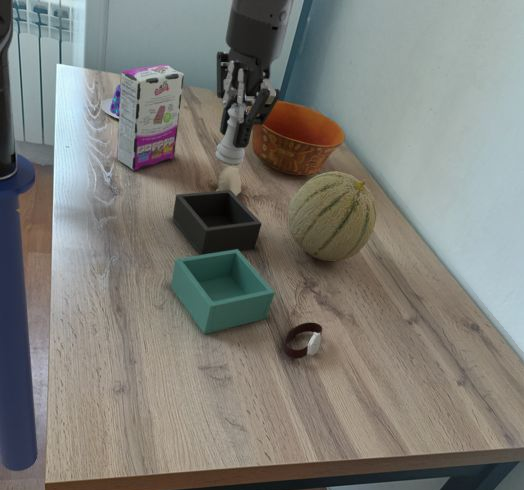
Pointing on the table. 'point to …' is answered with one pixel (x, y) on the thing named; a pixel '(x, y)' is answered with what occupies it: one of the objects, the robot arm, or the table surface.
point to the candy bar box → (148, 115)
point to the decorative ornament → (230, 179)
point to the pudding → (112, 104)
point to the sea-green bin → (221, 290)
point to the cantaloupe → (332, 216)
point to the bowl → (296, 139)
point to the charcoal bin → (215, 222)
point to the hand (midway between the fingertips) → (233, 139)
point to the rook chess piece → (230, 141)
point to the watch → (312, 344)
